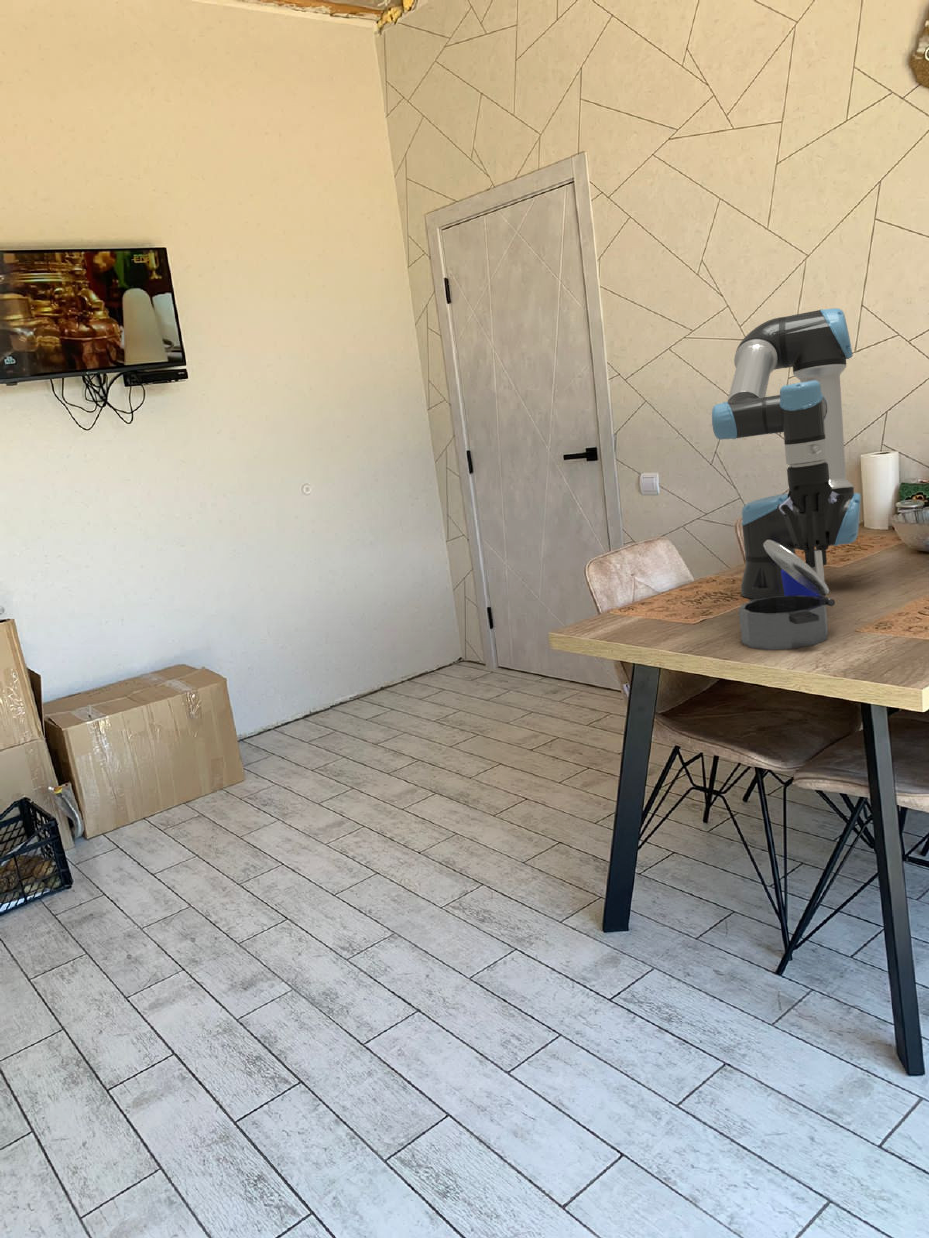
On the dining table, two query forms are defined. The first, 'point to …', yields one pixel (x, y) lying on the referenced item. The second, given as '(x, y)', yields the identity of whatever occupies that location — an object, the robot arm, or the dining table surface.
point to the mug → (794, 586)
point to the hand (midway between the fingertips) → (818, 582)
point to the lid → (796, 567)
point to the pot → (784, 621)
